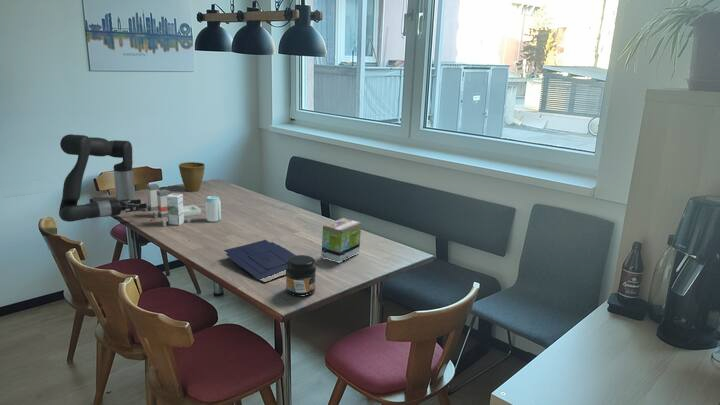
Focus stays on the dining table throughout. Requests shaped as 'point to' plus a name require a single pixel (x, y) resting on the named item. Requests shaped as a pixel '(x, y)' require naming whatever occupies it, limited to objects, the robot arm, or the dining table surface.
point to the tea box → (341, 239)
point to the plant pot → (192, 175)
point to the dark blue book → (260, 258)
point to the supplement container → (300, 275)
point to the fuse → (152, 196)
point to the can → (213, 209)
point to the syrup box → (175, 209)
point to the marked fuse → (162, 202)
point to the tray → (191, 210)
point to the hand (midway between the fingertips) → (143, 203)
